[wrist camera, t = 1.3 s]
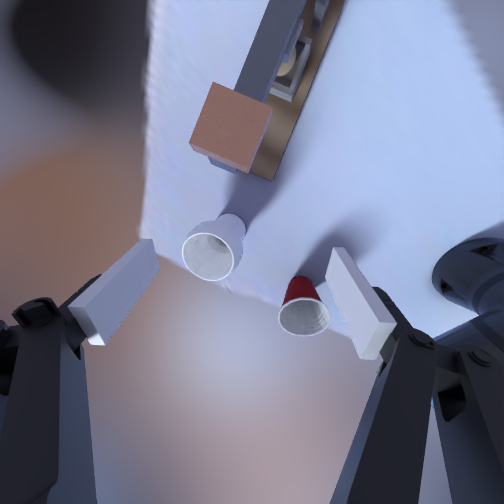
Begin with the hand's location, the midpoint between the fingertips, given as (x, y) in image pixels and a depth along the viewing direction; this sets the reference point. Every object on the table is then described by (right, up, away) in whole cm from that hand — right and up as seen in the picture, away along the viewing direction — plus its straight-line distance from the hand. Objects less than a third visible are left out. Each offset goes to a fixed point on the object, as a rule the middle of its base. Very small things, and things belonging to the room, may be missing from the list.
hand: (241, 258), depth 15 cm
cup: (-4, +6, +33) cm, 34 cm away
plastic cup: (+13, -8, +37) cm, 40 cm away
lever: (+2, +20, +8) cm, 22 cm away
